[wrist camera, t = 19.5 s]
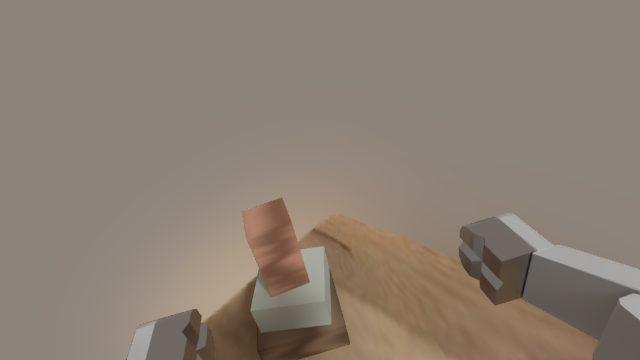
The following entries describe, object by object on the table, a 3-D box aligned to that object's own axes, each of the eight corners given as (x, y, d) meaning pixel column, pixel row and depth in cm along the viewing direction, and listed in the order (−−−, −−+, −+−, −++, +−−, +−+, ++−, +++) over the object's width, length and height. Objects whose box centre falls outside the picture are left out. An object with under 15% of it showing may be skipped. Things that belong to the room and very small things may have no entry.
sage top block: (261, 332, 40) (250, 310, 38) (270, 276, 48) (261, 255, 45) (331, 324, 39) (325, 301, 37) (329, 268, 47) (323, 246, 44)
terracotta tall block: (271, 297, 39) (246, 236, 33) (265, 268, 43) (241, 211, 38) (310, 282, 39) (291, 221, 34) (300, 255, 44) (282, 197, 38)
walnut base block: (267, 370, 40) (257, 350, 38) (264, 299, 50) (256, 280, 47) (350, 345, 41) (345, 325, 39) (332, 280, 50) (327, 260, 48)
